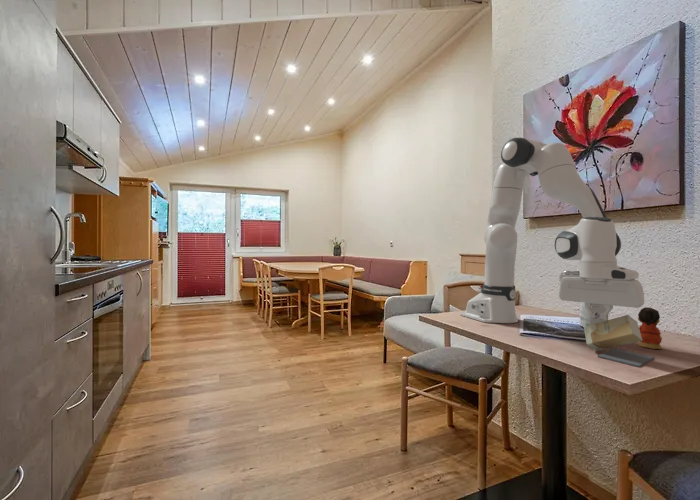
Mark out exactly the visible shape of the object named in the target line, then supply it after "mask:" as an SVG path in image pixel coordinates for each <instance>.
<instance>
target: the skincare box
mask: <svg viewBox="0 0 700 500" xmlns="http://www.w3.org/2000/svg"><path fill="white" fill-rule="evenodd" d="M639 327H640V326H639V324H638V322H637V320H636V319H634V318H633V317H631V316H630V315H629V314H627V315H623V316H618V317H615V318H611V319H608V320H607V321H603V322H599V323H596V324H592V325H588V326H585V327H584V329H583V330H584V336H585V343H586V345H587V346H588V347H590V348H591V349H593V350H594V351H595V352H596V351H601V350H607V349H610V348H616V347H621V346H625V345H630V344H633V343H634V344H635V343H638V342H640V341H643V340H642V337H641V333H640V329H639Z"/></svg>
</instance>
